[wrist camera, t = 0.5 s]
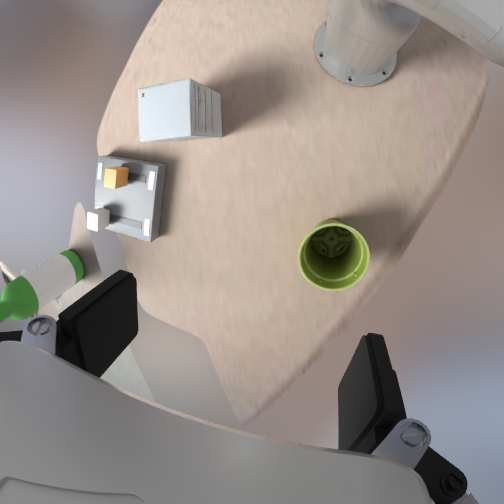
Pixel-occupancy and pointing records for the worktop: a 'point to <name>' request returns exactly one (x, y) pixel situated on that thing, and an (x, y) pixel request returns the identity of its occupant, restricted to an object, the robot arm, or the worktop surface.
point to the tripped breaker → (116, 177)
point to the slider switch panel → (132, 197)
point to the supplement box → (179, 112)
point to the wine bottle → (40, 286)
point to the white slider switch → (98, 219)
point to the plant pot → (333, 256)
